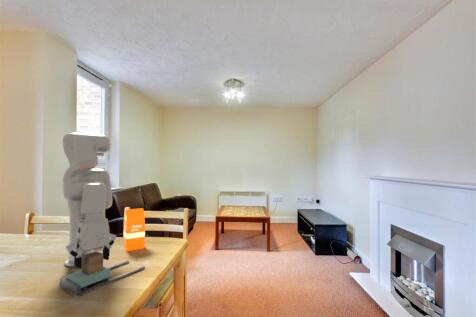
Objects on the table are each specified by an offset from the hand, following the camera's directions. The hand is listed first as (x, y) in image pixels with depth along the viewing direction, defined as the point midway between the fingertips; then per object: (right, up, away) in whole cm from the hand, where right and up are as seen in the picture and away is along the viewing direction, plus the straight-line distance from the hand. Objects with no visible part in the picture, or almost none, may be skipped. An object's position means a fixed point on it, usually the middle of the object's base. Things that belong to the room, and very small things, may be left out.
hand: (92, 263), depth 90 cm
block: (0, -3, 0) cm, 3 cm away
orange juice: (-1, -8, +38) cm, 39 cm away
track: (+3, -7, +4) cm, 9 cm away
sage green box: (-1, -7, -1) cm, 7 cm away
